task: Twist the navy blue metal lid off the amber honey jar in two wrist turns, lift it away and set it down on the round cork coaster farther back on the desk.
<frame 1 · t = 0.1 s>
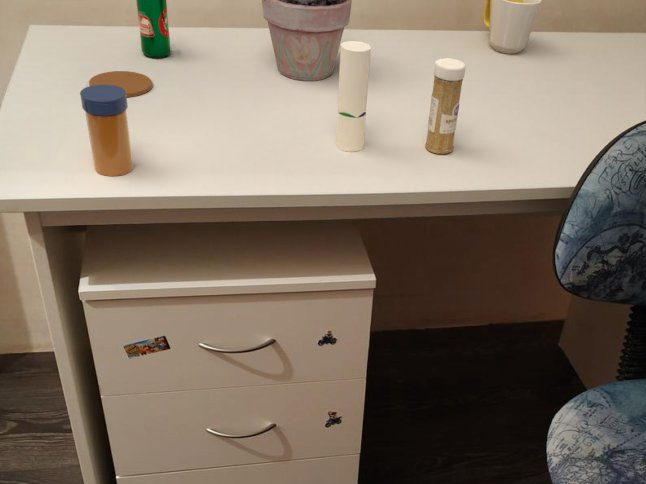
potted plant: (305, 74, 146), on the table
mug: (502, 47, 167), on the table
tube: (349, 146, 125), on the table
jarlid: (103, 95, 106), point 10 cm above the table, screwed on, not yet turned
soda can: (156, 55, 146), on the table
sprinkles bottle: (438, 149, 127), on the table
coaster: (121, 85, 134), on the table
jar: (114, 167, 112), on the table
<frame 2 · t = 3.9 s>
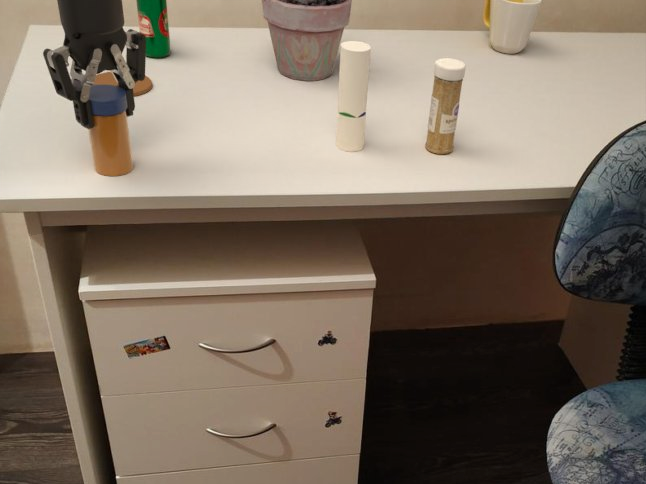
hand: (107, 119, 108), 7 cm above the table, tool pointing down, fingers closed on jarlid, 5 cm apart
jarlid: (103, 95, 106), point 10 cm above the table, screwed on, not yet turned, touching gripper
everything else where it was.
when the fingers open (6 cm above the table, at t = 6.8 s): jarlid stays where it is, point 11 cm above the table.
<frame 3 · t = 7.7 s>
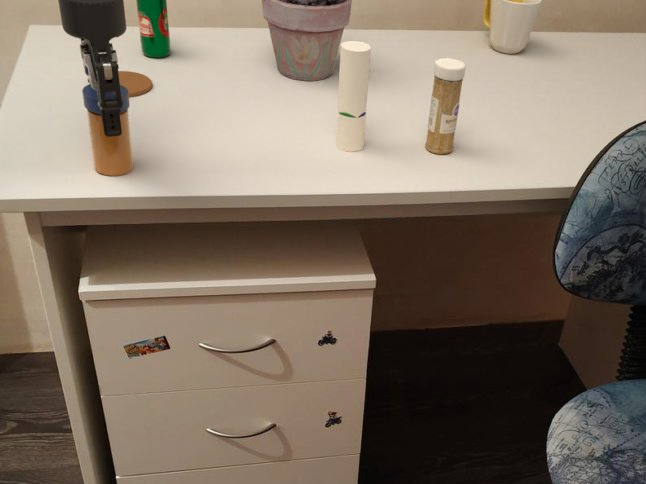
hand: (108, 123, 108), 7 cm above the table, tool pointing down, fingers open, 6 cm apart
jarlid: (105, 93, 105), point 11 cm above the table, turned 88° so far, risen 0.2 cm, still on its thread
everything else where it was.
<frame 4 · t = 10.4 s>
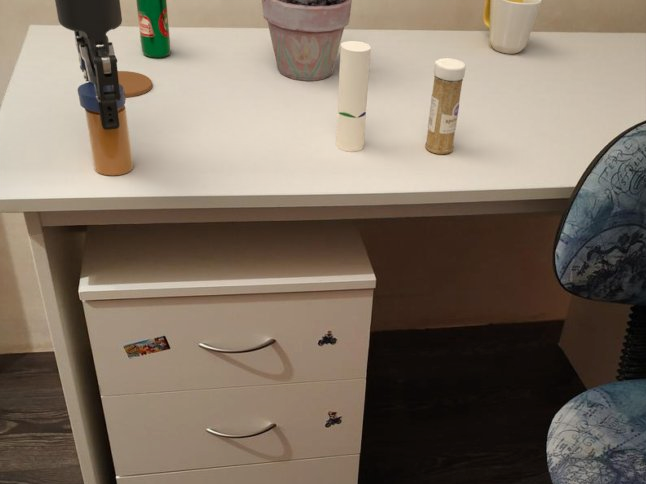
hand: (105, 118, 108), 7 cm above the table, tool pointing down, fingers closed on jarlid, 5 cm apart
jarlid: (101, 91, 106), point 11 cm above the table, off its thread, touching gripper
jar: (113, 167, 112), on the table, touching gripper
everything else where it was.
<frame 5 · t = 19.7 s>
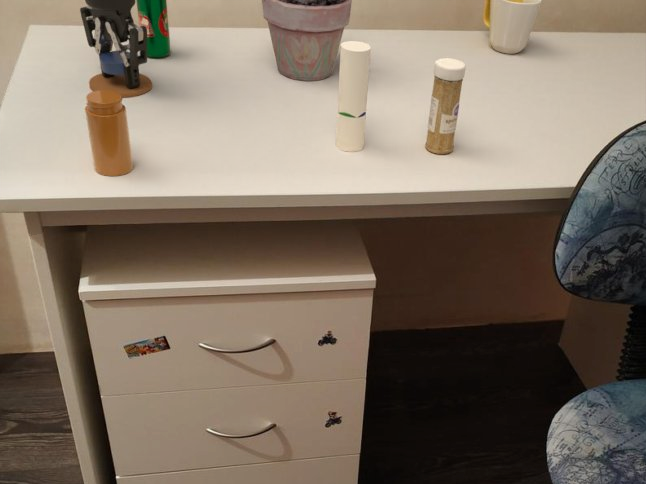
hand: (121, 81, 133), 1 cm above the table, tool pointing down, fingers closed on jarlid, 5 cm apart
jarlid: (118, 59, 131), point 4 cm above the table, off its thread, touching gripper
jar: (114, 167, 112), on the table
everything else where it was.
when the fingers open (1 cm above the table, at t = 27.6 s): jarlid drops 3 cm, resting on coaster.
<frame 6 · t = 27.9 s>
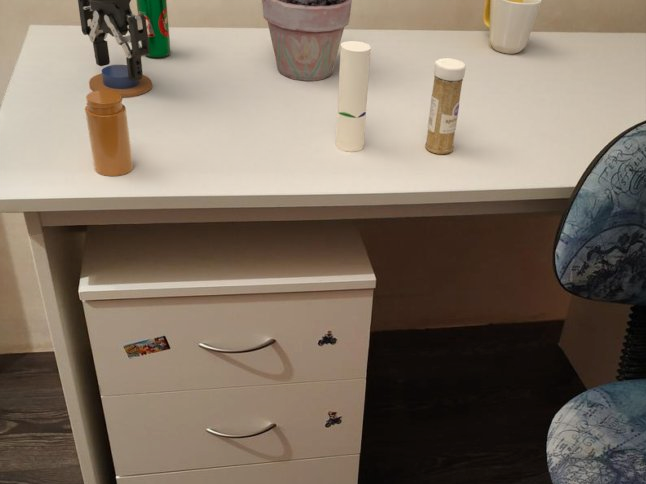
hand: (119, 72, 132), 2 cm above the table, tool pointing down, fingers open, 8 cm apart
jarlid: (120, 73, 132), point 2 cm above the table, off its thread, touching coaster
everything else where it was.
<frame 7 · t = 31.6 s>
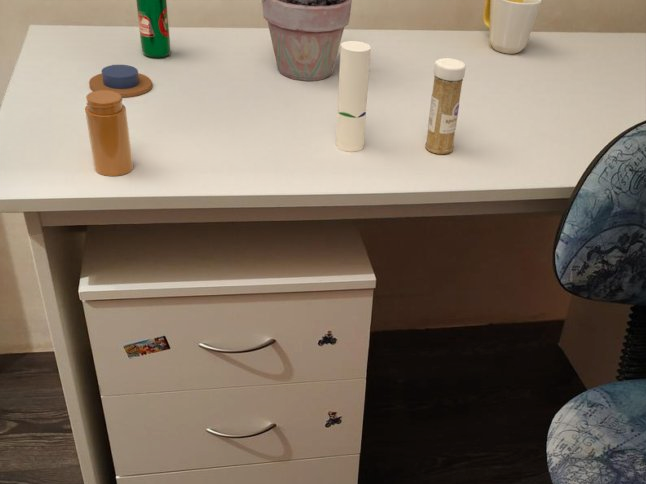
nothing on the table moved.
at the end: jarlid came off its thread; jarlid inside the target area on the coaster (0.2 cm from its centre), point 2.1 cm above the coaster's base; the gripper is holding nothing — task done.
